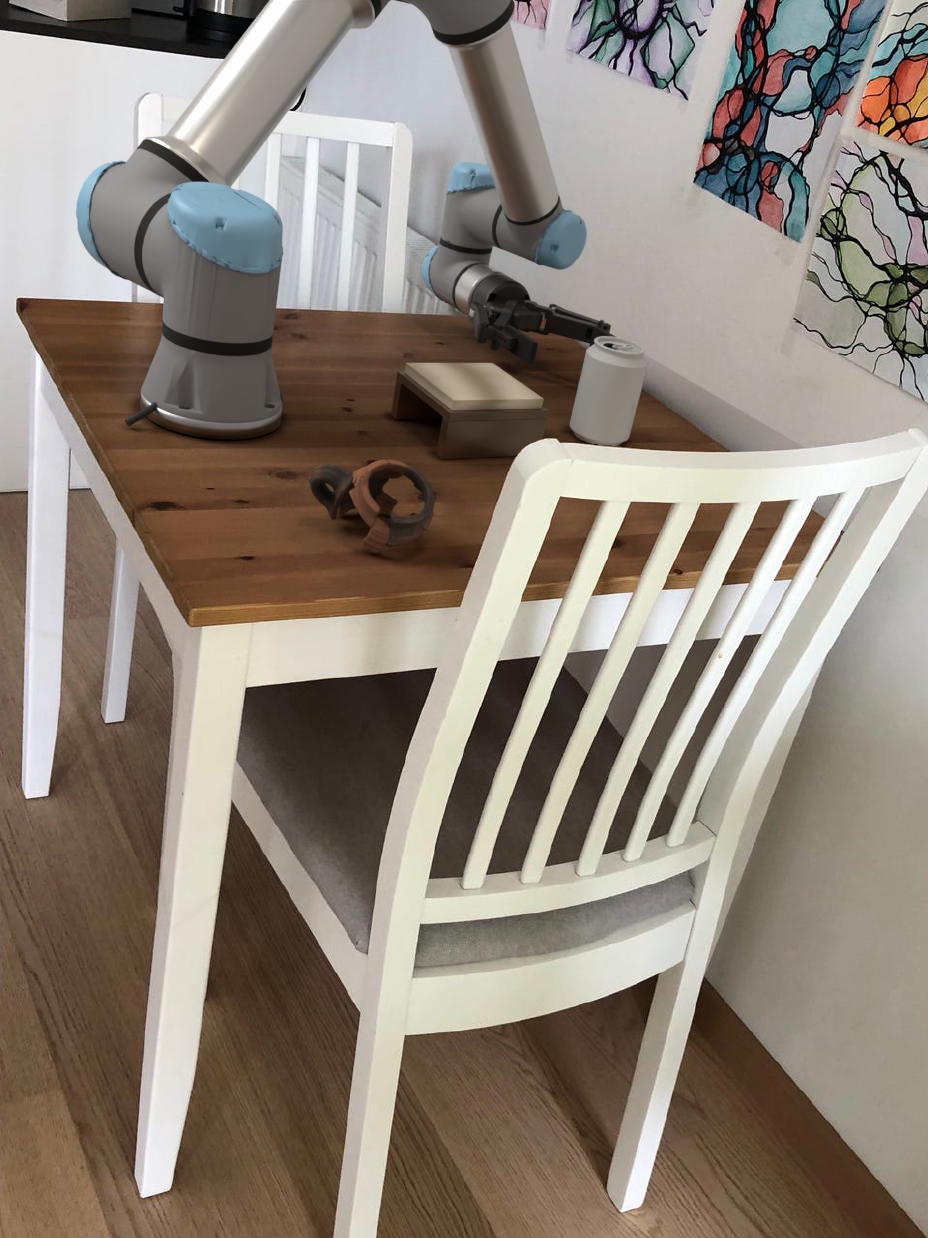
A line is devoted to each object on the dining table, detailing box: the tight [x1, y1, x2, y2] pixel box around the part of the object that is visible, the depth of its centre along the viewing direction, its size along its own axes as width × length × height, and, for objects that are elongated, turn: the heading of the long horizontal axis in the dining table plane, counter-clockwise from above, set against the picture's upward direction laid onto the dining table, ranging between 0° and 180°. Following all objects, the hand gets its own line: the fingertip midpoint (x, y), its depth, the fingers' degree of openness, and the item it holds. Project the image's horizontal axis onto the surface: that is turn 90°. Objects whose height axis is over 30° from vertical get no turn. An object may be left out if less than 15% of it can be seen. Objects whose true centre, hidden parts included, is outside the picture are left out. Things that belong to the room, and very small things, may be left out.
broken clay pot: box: [307, 459, 436, 554], centre depth 116 cm, size 12×10×8 cm
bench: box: [390, 362, 550, 460], centre depth 143 cm, size 13×13×7 cm
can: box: [569, 336, 649, 447], centre depth 149 cm, size 8×8×12 cm
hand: (579, 353), depth 154 cm, fingers open, 13 cm apart
